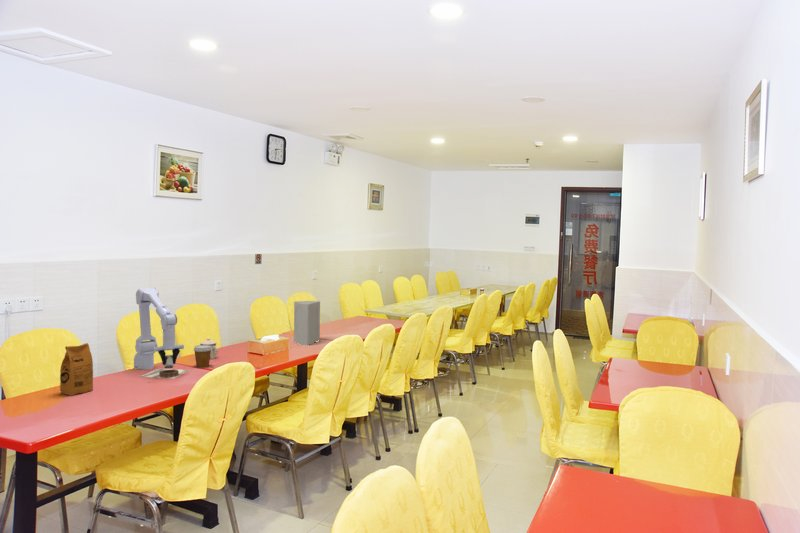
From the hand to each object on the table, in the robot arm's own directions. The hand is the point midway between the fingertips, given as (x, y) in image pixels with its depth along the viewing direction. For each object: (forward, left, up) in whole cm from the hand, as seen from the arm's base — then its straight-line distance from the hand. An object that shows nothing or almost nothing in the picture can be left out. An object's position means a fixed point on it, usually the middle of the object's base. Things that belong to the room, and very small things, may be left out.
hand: (169, 364), depth 296 cm
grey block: (+40, +106, -7) cm, 113 cm away
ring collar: (0, 0, -7) cm, 7 cm away
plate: (-4, +4, -7) cm, 9 cm away
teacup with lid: (0, +47, -7) cm, 48 cm away
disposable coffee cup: (+7, +23, -7) cm, 25 cm away
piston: (0, 0, -2) cm, 2 cm away
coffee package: (-27, -33, -7) cm, 43 cm away
